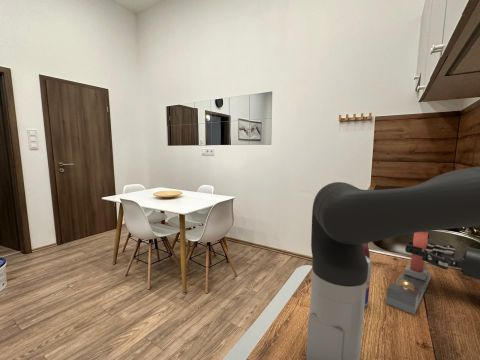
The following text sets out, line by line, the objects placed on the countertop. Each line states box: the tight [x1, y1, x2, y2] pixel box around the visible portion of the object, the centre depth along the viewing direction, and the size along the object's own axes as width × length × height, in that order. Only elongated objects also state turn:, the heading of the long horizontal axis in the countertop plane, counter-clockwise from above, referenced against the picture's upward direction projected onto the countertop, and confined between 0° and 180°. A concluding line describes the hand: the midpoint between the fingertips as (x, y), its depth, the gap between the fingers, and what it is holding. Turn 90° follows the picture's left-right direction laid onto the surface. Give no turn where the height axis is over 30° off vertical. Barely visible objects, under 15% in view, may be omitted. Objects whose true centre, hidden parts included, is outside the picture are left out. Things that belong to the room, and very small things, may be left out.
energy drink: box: [364, 256, 373, 309], centre depth 62 cm, size 5×5×12 cm
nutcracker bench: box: [385, 271, 431, 316], centre depth 68 cm, size 22×6×6 cm, turn 135°
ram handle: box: [403, 231, 430, 281], centre depth 72 cm, size 5×5×17 cm
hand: (407, 246), depth 74 cm, fingers closed on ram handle, 3 cm apart
